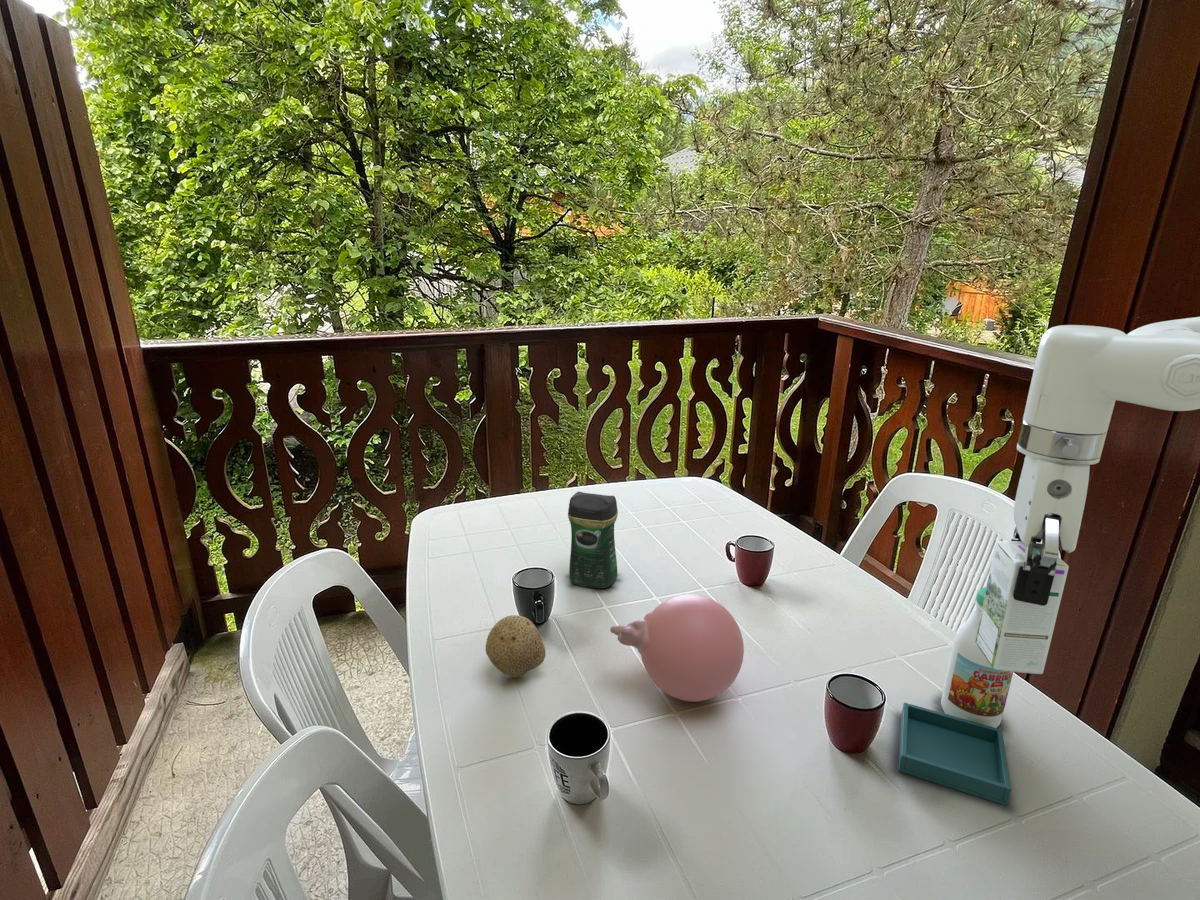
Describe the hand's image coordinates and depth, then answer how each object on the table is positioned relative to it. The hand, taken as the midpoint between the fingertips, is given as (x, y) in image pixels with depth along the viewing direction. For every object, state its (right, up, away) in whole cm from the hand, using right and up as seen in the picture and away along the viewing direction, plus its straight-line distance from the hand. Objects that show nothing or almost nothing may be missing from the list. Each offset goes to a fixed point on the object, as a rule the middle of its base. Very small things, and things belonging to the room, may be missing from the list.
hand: (1024, 585), depth 75 cm
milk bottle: (+4, -23, +19) cm, 30 cm away
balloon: (-38, -21, +24) cm, 50 cm away
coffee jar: (-51, -11, +55) cm, 76 cm away
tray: (-3, -25, +11) cm, 28 cm away
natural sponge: (-64, -20, +27) cm, 72 cm away
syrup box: (0, -10, +3) cm, 10 cm away
